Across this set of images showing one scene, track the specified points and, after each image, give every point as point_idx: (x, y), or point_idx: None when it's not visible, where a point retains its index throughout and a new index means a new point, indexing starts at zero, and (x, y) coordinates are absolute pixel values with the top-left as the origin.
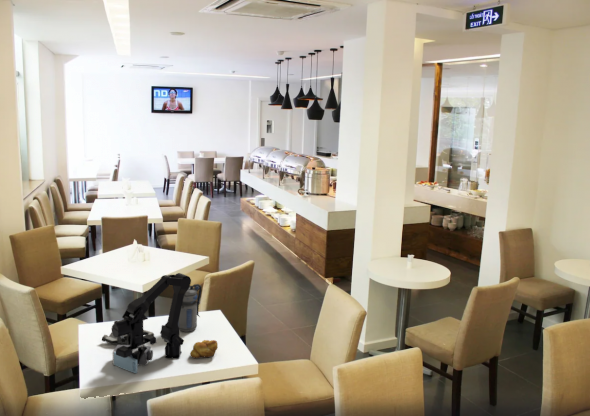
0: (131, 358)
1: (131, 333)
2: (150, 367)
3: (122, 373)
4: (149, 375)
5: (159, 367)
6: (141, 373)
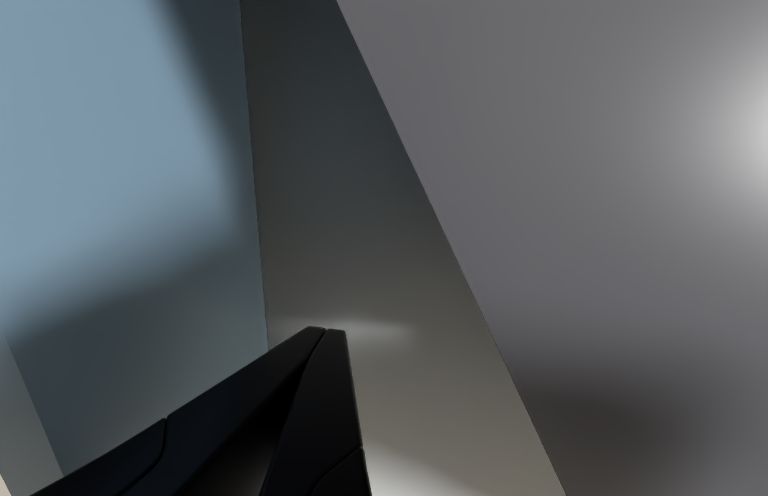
0: (32, 493)
1: None
2: (487, 406)
3: None
4: None
5: (537, 486)
6: None
